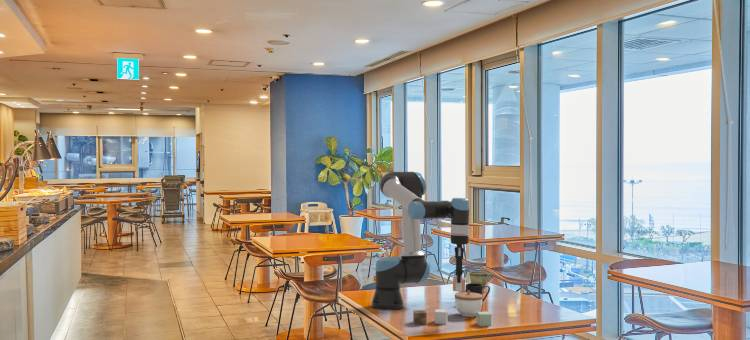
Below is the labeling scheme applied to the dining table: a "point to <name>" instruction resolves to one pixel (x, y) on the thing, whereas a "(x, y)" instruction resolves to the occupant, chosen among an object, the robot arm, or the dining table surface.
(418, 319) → the walnut block
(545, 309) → the dining table surface
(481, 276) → the ceramic cup
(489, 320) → the sage block
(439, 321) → the grey block
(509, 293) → the dining table surface
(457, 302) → the lidded bowl
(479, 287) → the mug
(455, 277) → the terracotta block
